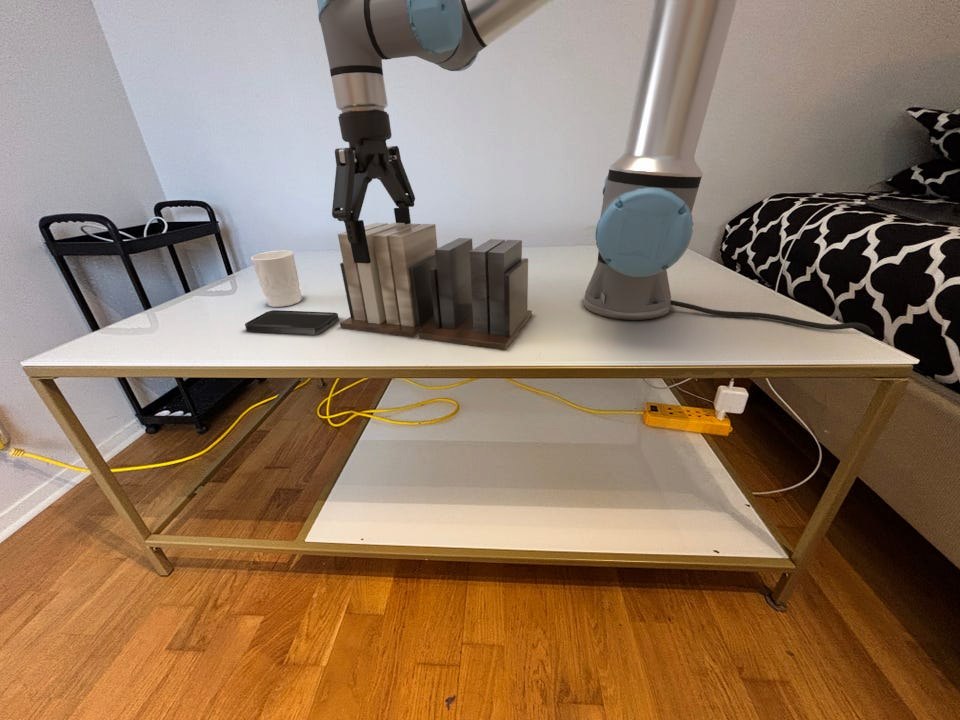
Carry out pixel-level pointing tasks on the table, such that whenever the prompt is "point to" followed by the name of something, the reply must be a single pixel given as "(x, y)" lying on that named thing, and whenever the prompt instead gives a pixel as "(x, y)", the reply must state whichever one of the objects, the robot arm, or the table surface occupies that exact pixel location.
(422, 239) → the beige book set
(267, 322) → the phone
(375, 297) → the white book
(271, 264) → the white cup
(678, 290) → the table surface
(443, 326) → the grey stand
